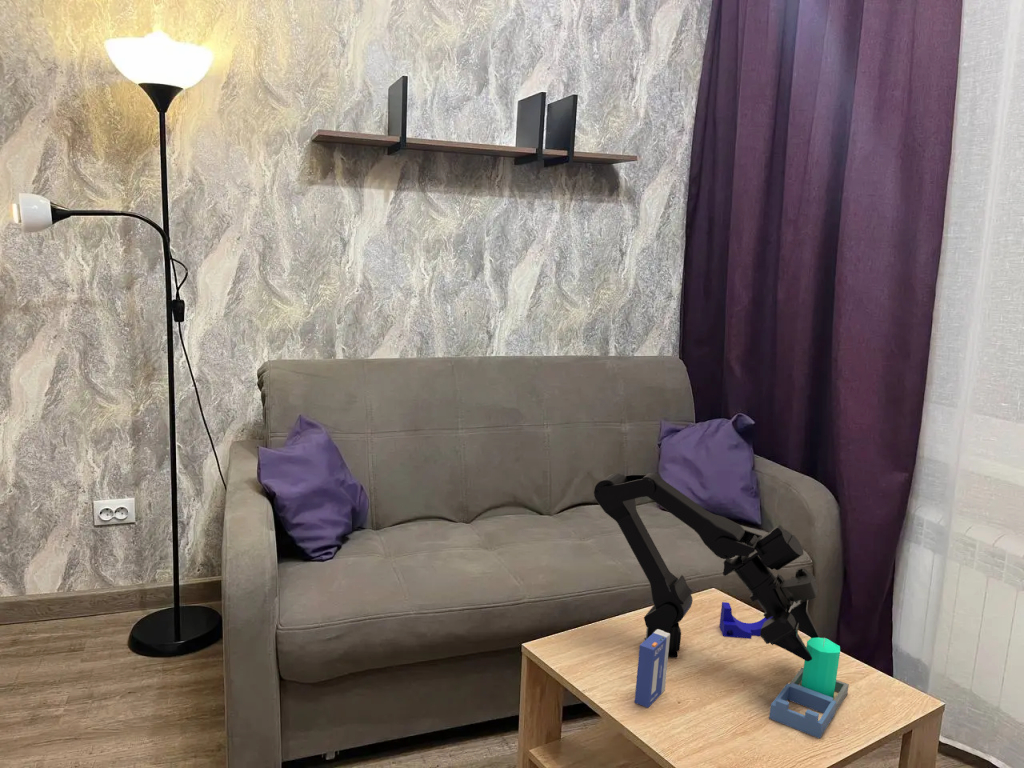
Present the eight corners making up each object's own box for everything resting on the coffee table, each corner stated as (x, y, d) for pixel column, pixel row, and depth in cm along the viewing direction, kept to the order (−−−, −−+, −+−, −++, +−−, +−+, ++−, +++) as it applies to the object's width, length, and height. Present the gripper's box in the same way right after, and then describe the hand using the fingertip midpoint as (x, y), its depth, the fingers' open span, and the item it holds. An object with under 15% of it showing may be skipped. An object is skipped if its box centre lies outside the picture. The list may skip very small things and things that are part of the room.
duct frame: (819, 739, 142) (822, 718, 141) (768, 719, 147) (771, 699, 146) (847, 693, 157) (850, 674, 156) (800, 676, 162) (802, 658, 161)
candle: (817, 707, 152) (826, 648, 149) (793, 690, 157) (801, 633, 155) (840, 699, 155) (848, 642, 152) (815, 683, 160) (823, 627, 157)
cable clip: (723, 637, 177) (725, 611, 175) (719, 627, 181) (722, 602, 180) (779, 641, 176) (782, 616, 175) (774, 631, 180) (777, 606, 179)
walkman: (648, 708, 149) (653, 648, 146) (634, 702, 150) (639, 643, 148) (665, 689, 155) (671, 631, 153) (652, 684, 157) (657, 626, 154)
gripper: (785, 577, 146) (843, 651, 143) (802, 544, 162) (854, 609, 159) (737, 607, 151) (792, 679, 148) (757, 572, 167) (808, 636, 164)
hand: (813, 649), depth 155 cm, fingers open, 9 cm apart
